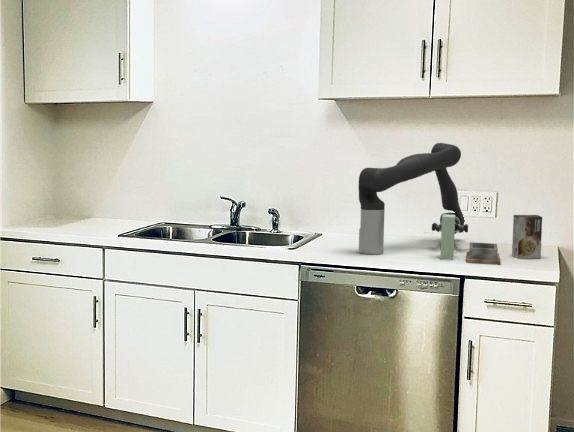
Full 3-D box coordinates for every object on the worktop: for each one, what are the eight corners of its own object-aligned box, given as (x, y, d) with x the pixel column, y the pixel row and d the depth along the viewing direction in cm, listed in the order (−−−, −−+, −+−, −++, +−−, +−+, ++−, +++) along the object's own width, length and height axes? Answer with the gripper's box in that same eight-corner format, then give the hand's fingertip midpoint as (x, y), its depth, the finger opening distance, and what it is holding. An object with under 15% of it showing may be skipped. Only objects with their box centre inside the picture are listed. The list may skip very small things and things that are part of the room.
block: (440, 259, 253) (442, 216, 252) (441, 255, 262) (443, 214, 260) (452, 259, 252) (454, 217, 250) (453, 255, 261) (455, 214, 259)
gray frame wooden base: (465, 262, 247) (466, 248, 246) (466, 254, 264) (467, 241, 263) (500, 264, 244) (500, 250, 243) (498, 256, 261) (499, 243, 260)
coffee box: (534, 255, 263) (536, 214, 261) (540, 258, 257) (543, 216, 255) (511, 255, 263) (513, 214, 261) (517, 258, 257) (519, 216, 255)
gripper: (433, 215, 285) (431, 219, 269) (468, 216, 281) (468, 221, 265) (433, 232, 285) (430, 238, 270) (468, 234, 282) (467, 240, 266)
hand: (449, 229), depth 268 cm, fingers open, 8 cm apart
